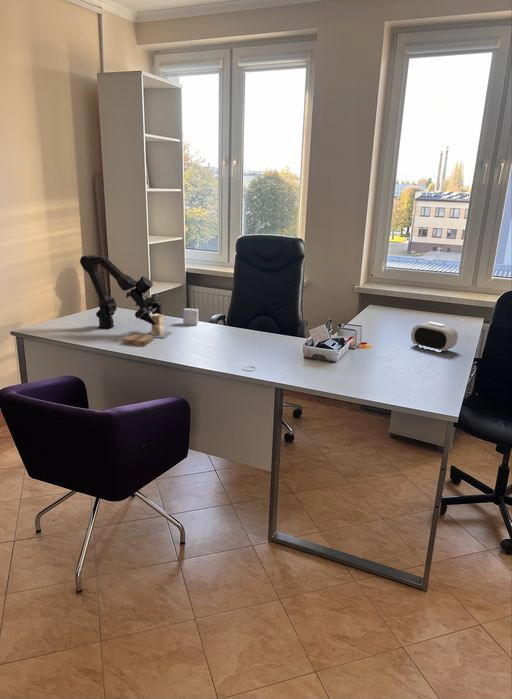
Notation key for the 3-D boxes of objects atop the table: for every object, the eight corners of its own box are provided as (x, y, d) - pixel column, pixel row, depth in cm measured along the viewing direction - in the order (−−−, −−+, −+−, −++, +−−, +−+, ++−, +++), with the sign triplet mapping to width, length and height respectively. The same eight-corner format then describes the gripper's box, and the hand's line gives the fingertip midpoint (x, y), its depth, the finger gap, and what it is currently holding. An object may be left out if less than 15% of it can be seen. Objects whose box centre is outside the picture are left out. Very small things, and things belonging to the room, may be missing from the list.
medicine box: (198, 323, 285) (198, 309, 282) (196, 325, 280) (196, 310, 278) (184, 323, 285) (184, 308, 283) (182, 324, 281) (182, 309, 278)
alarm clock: (408, 346, 261) (412, 321, 257) (417, 342, 268) (420, 318, 264) (447, 355, 248) (452, 329, 244) (455, 351, 255) (459, 326, 251)
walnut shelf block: (123, 344, 243) (122, 339, 242) (132, 337, 253) (132, 333, 252) (144, 346, 241) (144, 341, 240) (153, 340, 251) (153, 335, 250)
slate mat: (143, 336, 256) (143, 335, 256) (152, 331, 266) (152, 330, 266) (164, 338, 254) (164, 337, 254) (171, 333, 264) (171, 332, 264)
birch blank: (151, 334, 259) (151, 315, 256) (156, 332, 263) (155, 313, 260) (159, 335, 257) (159, 316, 254) (163, 333, 261) (163, 314, 258)
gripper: (139, 292, 246) (160, 316, 246) (158, 286, 263) (177, 309, 263) (126, 306, 251) (146, 330, 251) (145, 299, 267) (164, 321, 268)
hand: (159, 322), depth 258 cm, fingers open, 9 cm apart
